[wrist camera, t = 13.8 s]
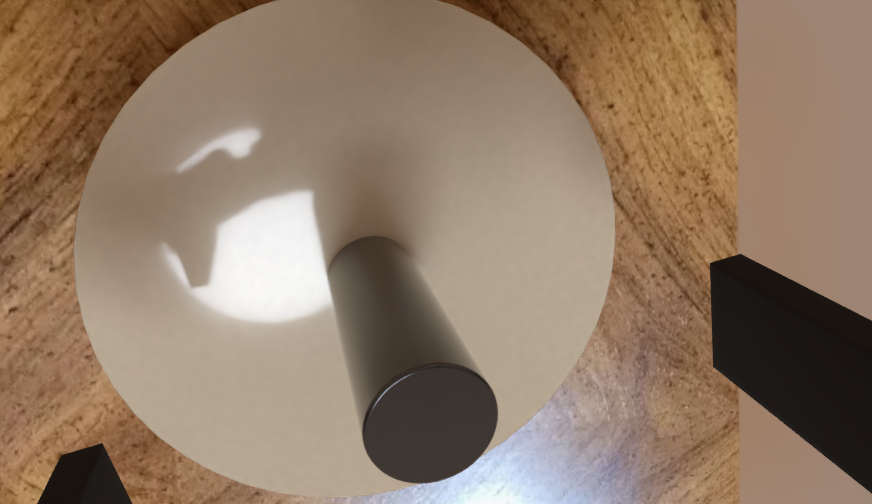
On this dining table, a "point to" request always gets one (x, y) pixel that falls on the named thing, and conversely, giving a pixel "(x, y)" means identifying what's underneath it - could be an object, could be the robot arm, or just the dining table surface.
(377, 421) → the lid
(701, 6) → the dining table surface
